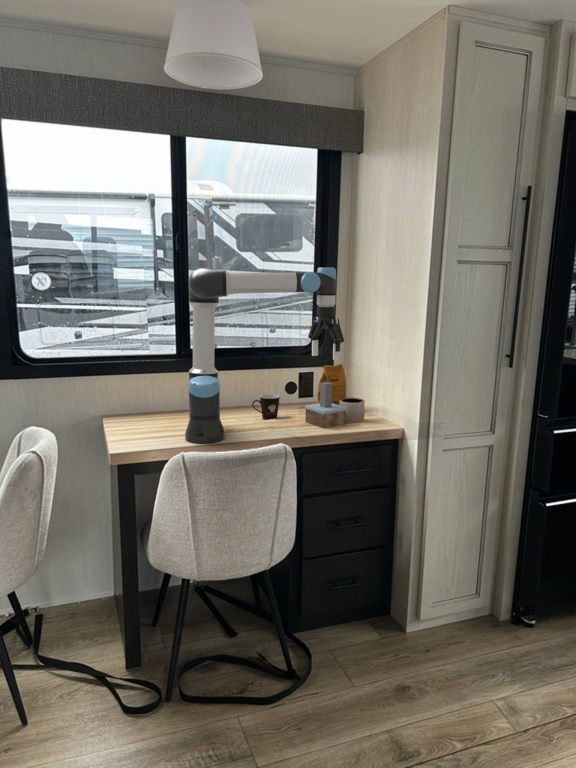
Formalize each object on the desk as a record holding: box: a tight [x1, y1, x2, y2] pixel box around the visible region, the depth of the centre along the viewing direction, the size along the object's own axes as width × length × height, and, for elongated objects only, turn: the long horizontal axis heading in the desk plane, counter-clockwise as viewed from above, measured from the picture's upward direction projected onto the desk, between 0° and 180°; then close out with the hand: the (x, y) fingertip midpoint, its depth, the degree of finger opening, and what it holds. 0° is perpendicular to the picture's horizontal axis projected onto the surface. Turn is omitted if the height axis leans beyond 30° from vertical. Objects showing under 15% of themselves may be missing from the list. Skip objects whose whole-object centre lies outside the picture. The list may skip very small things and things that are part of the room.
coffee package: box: [316, 363, 347, 406], centre depth 270 cm, size 10×12×22 cm
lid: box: [304, 382, 347, 414], centre depth 244 cm, size 12×12×13 cm
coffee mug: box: [251, 393, 281, 421], centre depth 257 cm, size 12×9×10 cm
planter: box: [340, 397, 366, 424], centre depth 253 cm, size 11×11×10 cm
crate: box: [305, 409, 347, 429], centre depth 246 cm, size 12×12×7 cm
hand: (325, 357), depth 242 cm, fingers open, 13 cm apart
